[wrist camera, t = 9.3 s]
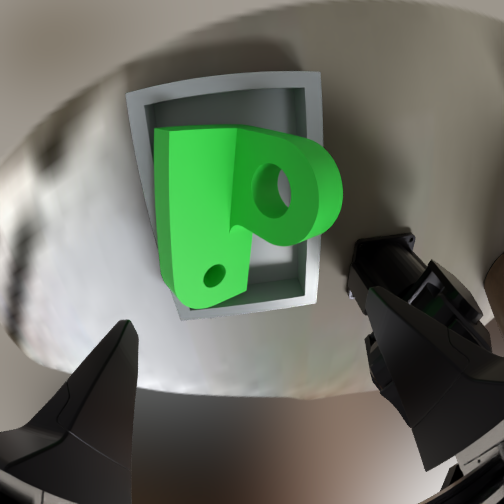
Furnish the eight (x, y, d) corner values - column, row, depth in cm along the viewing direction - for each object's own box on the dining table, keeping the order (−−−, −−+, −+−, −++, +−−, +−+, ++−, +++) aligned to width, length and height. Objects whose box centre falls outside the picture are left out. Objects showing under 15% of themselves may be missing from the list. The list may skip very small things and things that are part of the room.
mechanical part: (154, 128, 13) (253, 153, 8) (242, 124, 16) (353, 151, 11) (164, 304, 19) (232, 384, 14) (230, 277, 23) (304, 337, 18)
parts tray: (305, 75, 15) (320, 71, 13) (306, 280, 24) (316, 303, 22) (139, 93, 15) (125, 93, 12) (183, 296, 24) (180, 320, 21)
